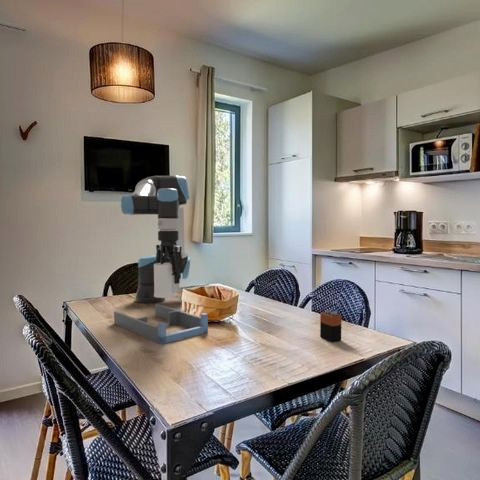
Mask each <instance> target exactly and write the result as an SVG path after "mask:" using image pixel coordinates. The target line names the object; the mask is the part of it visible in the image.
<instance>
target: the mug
mask: <svg viewBox="0 0 480 480" xmlns="http://www.w3.org/2000/svg"><path fill="white" fill-rule="evenodd" d="M172 274H173V271H172V265H171V263H163V264H162V265H161V263H156V264H154V297H157V298H165V299H168V298H169V299H170V298H174V297H177V296H178V292H175V293H172ZM182 278H183V274H182V273H181V279H180V282H179V285H180V284H181V283H182V281H183V279H182Z"/></svg>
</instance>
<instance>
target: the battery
mask: <svg viewBox="0 0 480 480" xmlns="http://www.w3.org/2000/svg"><path fill="white" fill-rule="evenodd" d="M319 317H320V323H319V324H320V325H319V326H320V327H319V333H320V335H319V336H320V338H321V339H324V340H327V341H328V342H331V343H336V342H340V341H342V315H341V314H338V313H337V311H330V310H329V309H326V310H325V311H322V312H320V316H319Z"/></svg>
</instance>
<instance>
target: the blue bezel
mask: <svg viewBox="0 0 480 480" xmlns="http://www.w3.org/2000/svg"><path fill="white" fill-rule="evenodd" d="M208 316H209V314H208V313H206V312H203V313H200V317H201V326H198V327H194V328H190V327H189V328H188V329H187V328H186V329H183V330H179V331H175V332H170V333H167V329H166V328H167V325H166V324H167V323H166V322H164V321H162V322H159V323H157V327H158V343H157V344H159V345H164V344H167V343H171V342H175V341H178V340H179V341H180V340H184V339H186V338H190V337H195V336H199V335H201V334H205V333H208V332H209V323H208V322H209V317H208Z"/></svg>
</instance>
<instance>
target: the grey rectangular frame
mask: <svg viewBox="0 0 480 480" xmlns="http://www.w3.org/2000/svg"><path fill="white" fill-rule="evenodd" d="M154 307H155V309H154V310H155V316H157V317H159V318H163V319H164V320H167V325H168V326H171V325H176V324H179V325H181V326H185V327H189V329H190V328H194V327H198V326H201V316H199V315H196V314H193V313H189V312H186V311H183V310H180V309H176V308H172V307H170V306H166V305H163V304H160V303H155V306H154ZM113 317H114V318H113V321H114V322H113V324H115V325H117V326H118V327H121V328H123V329H126V330H128V331H131V332H132V333H135V334H137V335H139V336H141V337H144V338H146V339H148V340H150V341H152V342H155V343H157V344H159V343H158V325H154V324H151V323H149V322H148V317H147V316H144V317H138V318H136V317H133V316H131V315H128V314H126V313H123V312H121V311H118V310H116V311H113Z"/></svg>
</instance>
